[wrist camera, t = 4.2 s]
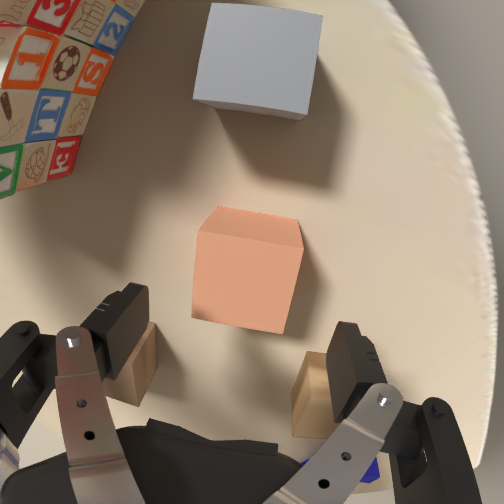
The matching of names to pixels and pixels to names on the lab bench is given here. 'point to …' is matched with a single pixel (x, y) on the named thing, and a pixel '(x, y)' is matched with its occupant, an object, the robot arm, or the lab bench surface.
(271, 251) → the terracotta block
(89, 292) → the lab bench surface
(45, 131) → the stack of blocks
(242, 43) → the gray block
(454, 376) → the lab bench surface
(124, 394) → the tan block
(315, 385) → the oak block
